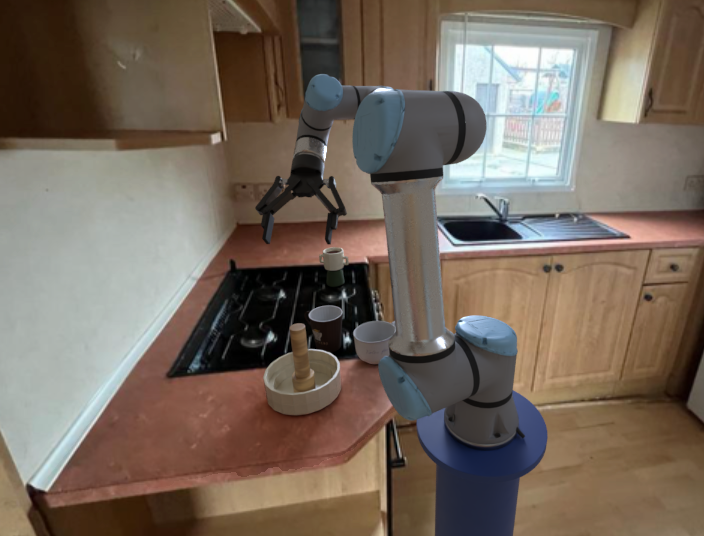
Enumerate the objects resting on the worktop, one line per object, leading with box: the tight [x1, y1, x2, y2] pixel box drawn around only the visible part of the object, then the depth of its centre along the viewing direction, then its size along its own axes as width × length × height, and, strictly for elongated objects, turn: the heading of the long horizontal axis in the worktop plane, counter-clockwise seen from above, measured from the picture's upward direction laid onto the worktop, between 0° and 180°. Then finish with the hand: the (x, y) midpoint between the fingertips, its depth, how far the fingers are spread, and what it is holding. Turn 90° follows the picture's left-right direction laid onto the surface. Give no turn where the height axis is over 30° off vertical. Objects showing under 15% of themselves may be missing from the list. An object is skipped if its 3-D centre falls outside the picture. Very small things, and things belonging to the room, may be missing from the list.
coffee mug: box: [304, 305, 343, 354], centre depth 109 cm, size 12×9×10 cm
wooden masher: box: [289, 322, 316, 393], centre depth 89 cm, size 5×5×16 cm
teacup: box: [352, 320, 396, 365], centre depth 104 cm, size 14×11×8 cm
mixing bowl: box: [262, 348, 342, 416], centre depth 91 cm, size 16×16×6 cm
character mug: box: [318, 246, 349, 288], centre depth 144 cm, size 11×7×13 cm, turn 77°
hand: (296, 241), depth 90 cm, fingers open, 13 cm apart
